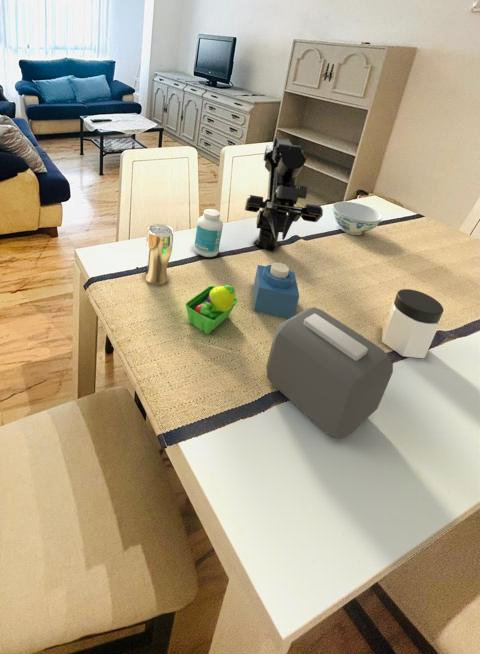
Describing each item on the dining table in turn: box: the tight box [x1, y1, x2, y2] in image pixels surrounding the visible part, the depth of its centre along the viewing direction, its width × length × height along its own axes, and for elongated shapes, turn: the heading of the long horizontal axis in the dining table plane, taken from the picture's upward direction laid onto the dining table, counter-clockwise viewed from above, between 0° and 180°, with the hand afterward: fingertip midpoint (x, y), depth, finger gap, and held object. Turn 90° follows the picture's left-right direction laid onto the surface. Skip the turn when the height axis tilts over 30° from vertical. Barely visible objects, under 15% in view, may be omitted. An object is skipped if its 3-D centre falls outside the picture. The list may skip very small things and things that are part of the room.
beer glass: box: [144, 223, 174, 286], centre depth 102 cm, size 7×7×15 cm
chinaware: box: [332, 201, 383, 236], centre depth 135 cm, size 15×15×8 cm
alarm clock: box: [265, 306, 394, 439], centre depth 69 cm, size 16×11×16 cm
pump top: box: [270, 262, 290, 279], centre depth 94 cm, size 4×4×2 cm
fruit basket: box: [185, 284, 239, 335], centre depth 88 cm, size 11×9×11 cm
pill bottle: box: [193, 208, 224, 258], centre depth 116 cm, size 8×7×14 cm
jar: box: [381, 288, 444, 359], centre depth 84 cm, size 9×8×12 cm
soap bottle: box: [252, 264, 300, 320], centre depth 96 cm, size 10×9×9 cm
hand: (279, 238), depth 101 cm, fingers closed
